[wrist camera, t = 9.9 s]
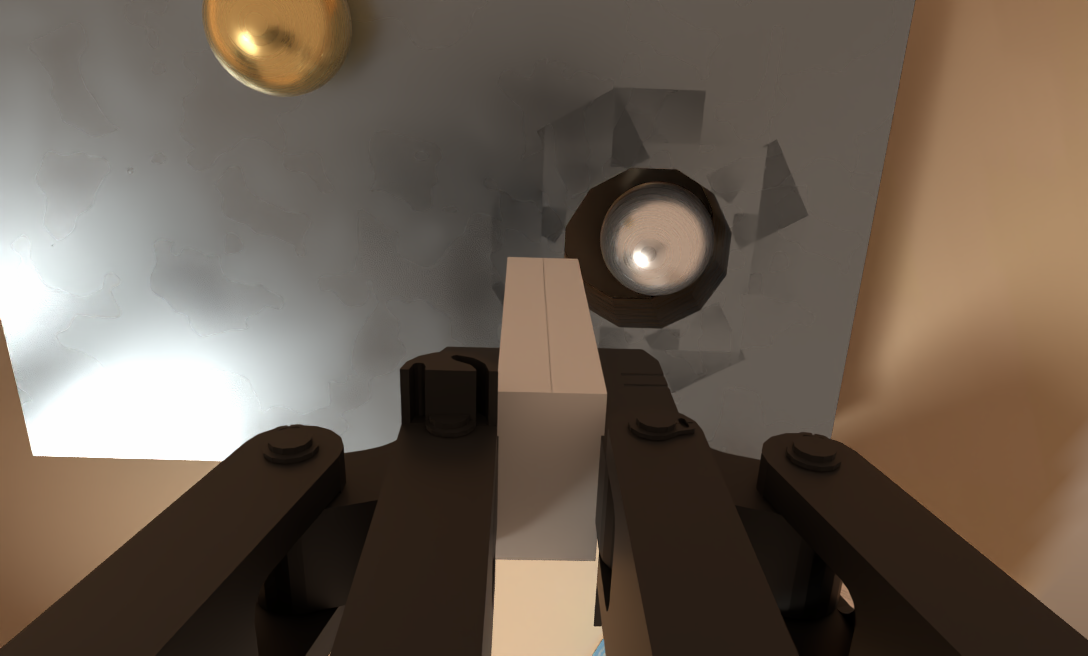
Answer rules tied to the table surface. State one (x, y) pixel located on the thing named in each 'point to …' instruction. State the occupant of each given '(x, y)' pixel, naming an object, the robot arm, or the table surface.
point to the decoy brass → (279, 42)
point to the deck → (422, 207)
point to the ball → (657, 238)
